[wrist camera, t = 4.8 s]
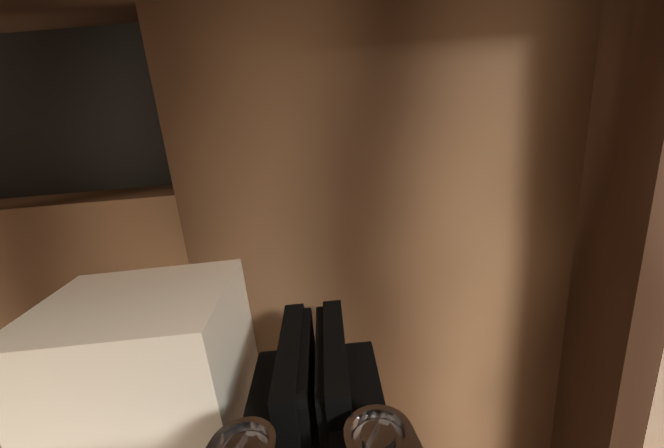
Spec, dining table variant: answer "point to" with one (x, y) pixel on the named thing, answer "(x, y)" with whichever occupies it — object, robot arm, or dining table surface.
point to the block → (130, 360)
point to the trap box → (366, 186)
